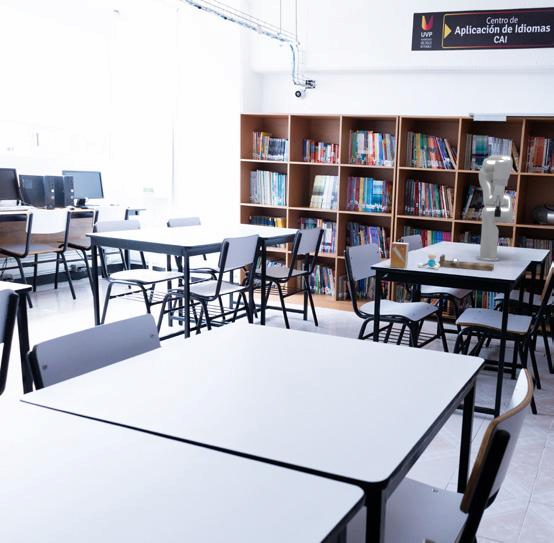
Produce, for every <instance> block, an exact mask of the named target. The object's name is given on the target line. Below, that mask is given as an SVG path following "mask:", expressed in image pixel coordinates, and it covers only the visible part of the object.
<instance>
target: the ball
mask: <svg viewBox="0 0 554 543" xmlns="http://www.w3.org/2000/svg"><path fill="white" fill-rule="evenodd" d="M450 261H451V263H459V261H460V260H459V259H457V258H453V259H451V260H450Z"/></svg>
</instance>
